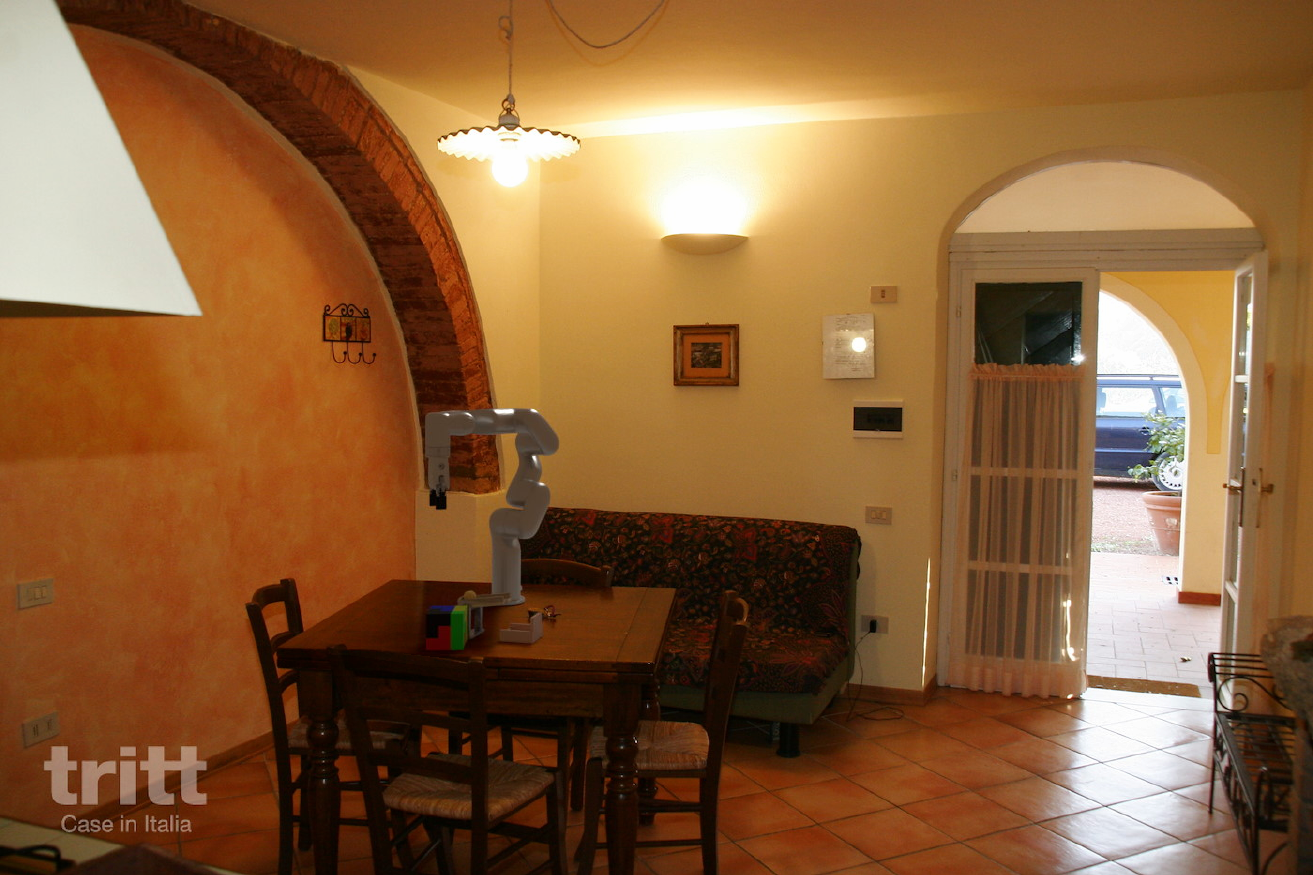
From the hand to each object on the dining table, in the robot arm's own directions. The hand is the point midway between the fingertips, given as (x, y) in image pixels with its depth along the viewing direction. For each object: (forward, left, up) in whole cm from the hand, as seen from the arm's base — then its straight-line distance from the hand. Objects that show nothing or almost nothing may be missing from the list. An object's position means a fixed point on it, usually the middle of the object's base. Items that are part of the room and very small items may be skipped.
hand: (437, 507), depth 290 cm
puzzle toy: (+27, +16, -35) cm, 47 cm away
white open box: (+15, +33, -35) cm, 50 cm away
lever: (+12, +20, -30) cm, 38 cm away
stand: (+15, +18, -35) cm, 42 cm away
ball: (+15, +17, -24) cm, 33 cm away
